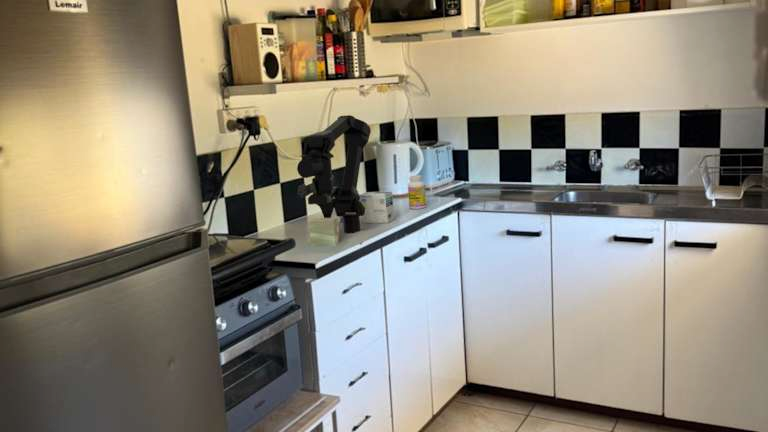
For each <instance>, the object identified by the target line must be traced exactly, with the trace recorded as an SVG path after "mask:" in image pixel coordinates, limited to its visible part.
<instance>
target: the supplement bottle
mask: <svg viewBox="0 0 768 432" xmlns="http://www.w3.org/2000/svg"><path fill="white" fill-rule="evenodd" d="M422 179H423V178H422V175H421V174H420V175H418V174H417V175H410V176H409V180H410V181H409V183H408V184H407V190H408V191H407V192H408V195H407V196H408V206H409V207H408V208H409V209H410V210H422V208H423V209H425V208H426V207H427V202H426V187H425V183H424V181H422Z"/></svg>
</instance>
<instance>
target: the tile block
mask: <svg viewBox="0 0 768 432" xmlns="http://www.w3.org/2000/svg"><path fill="white" fill-rule="evenodd" d="M308 228H309V237H310V238H309V239H310V243H311V246H336V245H337V244H338V243H339V242H340V241H341V240H340V231H339V223H338V218H337V217H335V218H324V217H321V218H320V217H319V218H318V217H317V218H312V219H311V220H309V221H308Z"/></svg>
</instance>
